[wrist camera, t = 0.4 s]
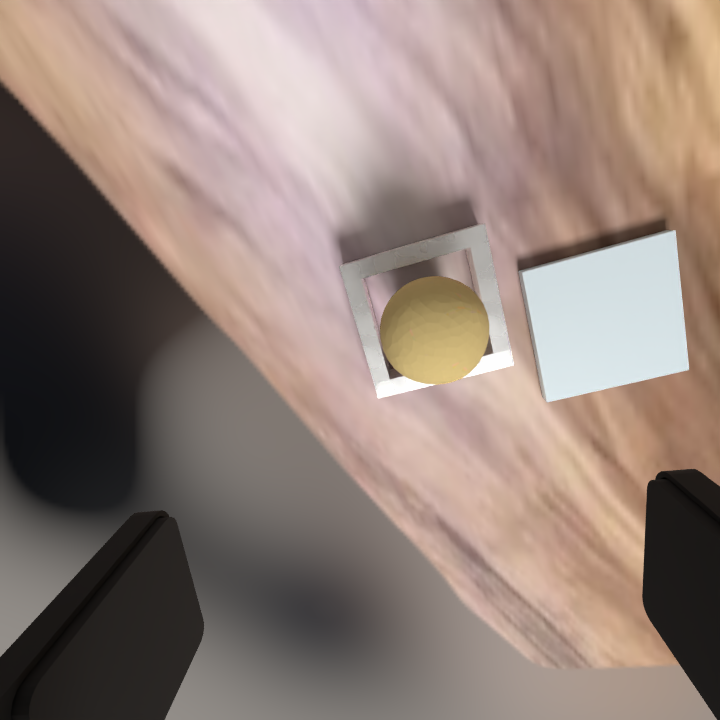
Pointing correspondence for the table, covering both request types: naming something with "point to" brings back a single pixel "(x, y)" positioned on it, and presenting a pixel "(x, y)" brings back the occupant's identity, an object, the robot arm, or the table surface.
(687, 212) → the table surface
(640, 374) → the pad
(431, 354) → the light bulb
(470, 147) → the table surface
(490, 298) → the frame
